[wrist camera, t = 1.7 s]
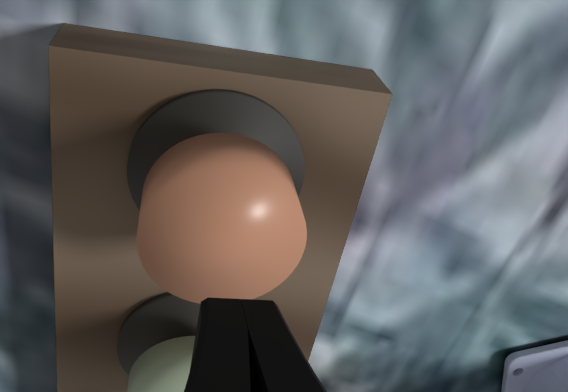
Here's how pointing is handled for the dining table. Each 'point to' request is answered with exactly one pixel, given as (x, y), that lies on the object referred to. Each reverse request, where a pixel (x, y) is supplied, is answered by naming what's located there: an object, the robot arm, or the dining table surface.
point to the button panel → (156, 141)
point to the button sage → (163, 367)
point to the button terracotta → (220, 219)
